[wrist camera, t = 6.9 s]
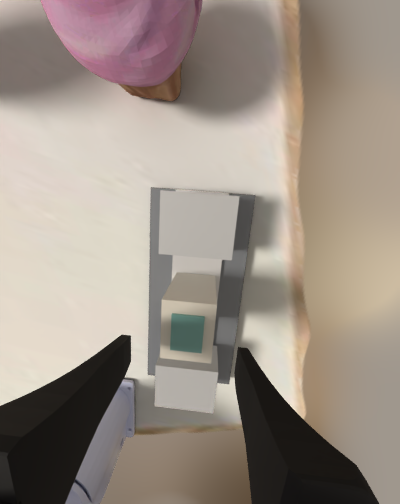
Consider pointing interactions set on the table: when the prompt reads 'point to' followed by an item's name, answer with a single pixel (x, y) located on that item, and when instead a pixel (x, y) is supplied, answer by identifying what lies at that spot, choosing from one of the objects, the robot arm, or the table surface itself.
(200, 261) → the rail board
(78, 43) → the cupcake
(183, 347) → the block
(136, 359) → the table surface
